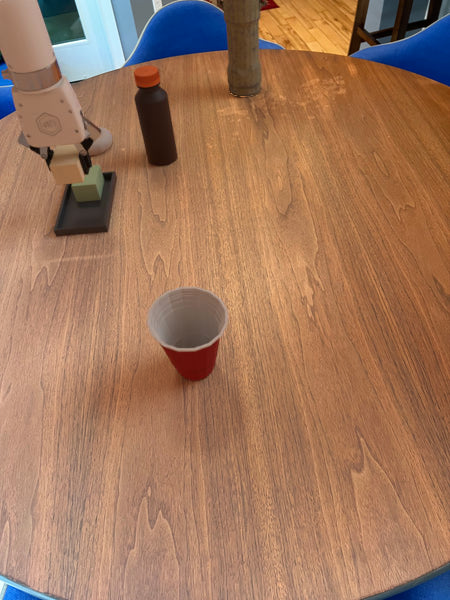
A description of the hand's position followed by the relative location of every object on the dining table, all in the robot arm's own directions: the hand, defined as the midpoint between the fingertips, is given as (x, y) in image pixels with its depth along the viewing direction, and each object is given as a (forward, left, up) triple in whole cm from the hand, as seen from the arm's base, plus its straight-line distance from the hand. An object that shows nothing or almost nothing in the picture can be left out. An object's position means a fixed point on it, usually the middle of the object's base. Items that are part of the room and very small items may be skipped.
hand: (72, 171), depth 90 cm
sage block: (0, +7, -10) cm, 12 cm away
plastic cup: (+22, -39, -11) cm, 46 cm away
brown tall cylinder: (+36, +47, -11) cm, 60 cm away
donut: (-2, +25, -11) cm, 28 cm away
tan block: (0, 0, 0) cm, 0 cm away
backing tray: (0, +2, -10) cm, 11 cm away
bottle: (+15, +17, -11) cm, 25 cm away
